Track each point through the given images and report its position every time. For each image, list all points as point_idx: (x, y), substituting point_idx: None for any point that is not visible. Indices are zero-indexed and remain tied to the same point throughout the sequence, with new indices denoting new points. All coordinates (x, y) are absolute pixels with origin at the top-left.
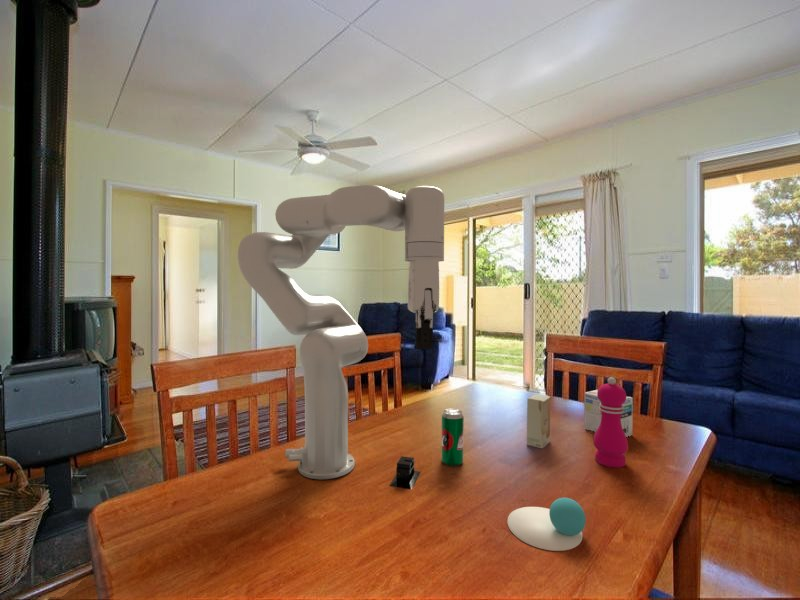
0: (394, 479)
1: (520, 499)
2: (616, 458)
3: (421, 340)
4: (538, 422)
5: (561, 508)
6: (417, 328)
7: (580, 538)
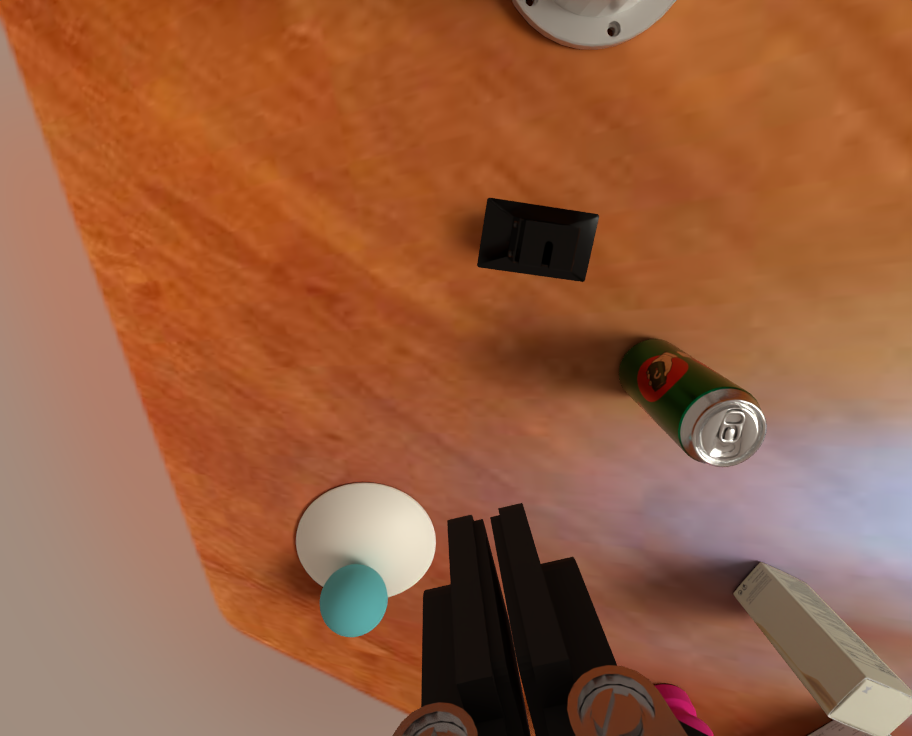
0: (526, 208)
1: (466, 515)
2: None
3: (423, 618)
4: (785, 641)
5: (331, 605)
6: (461, 694)
7: None
